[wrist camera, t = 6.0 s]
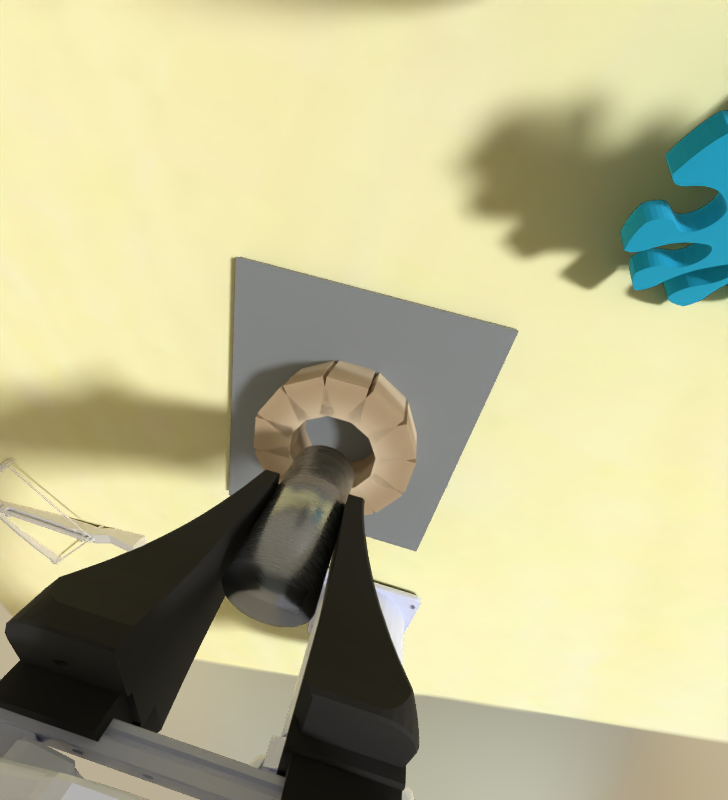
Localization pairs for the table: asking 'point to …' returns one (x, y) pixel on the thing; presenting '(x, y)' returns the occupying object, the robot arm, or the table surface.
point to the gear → (685, 222)
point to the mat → (371, 348)
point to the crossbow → (63, 526)
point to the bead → (350, 401)
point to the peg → (292, 541)
